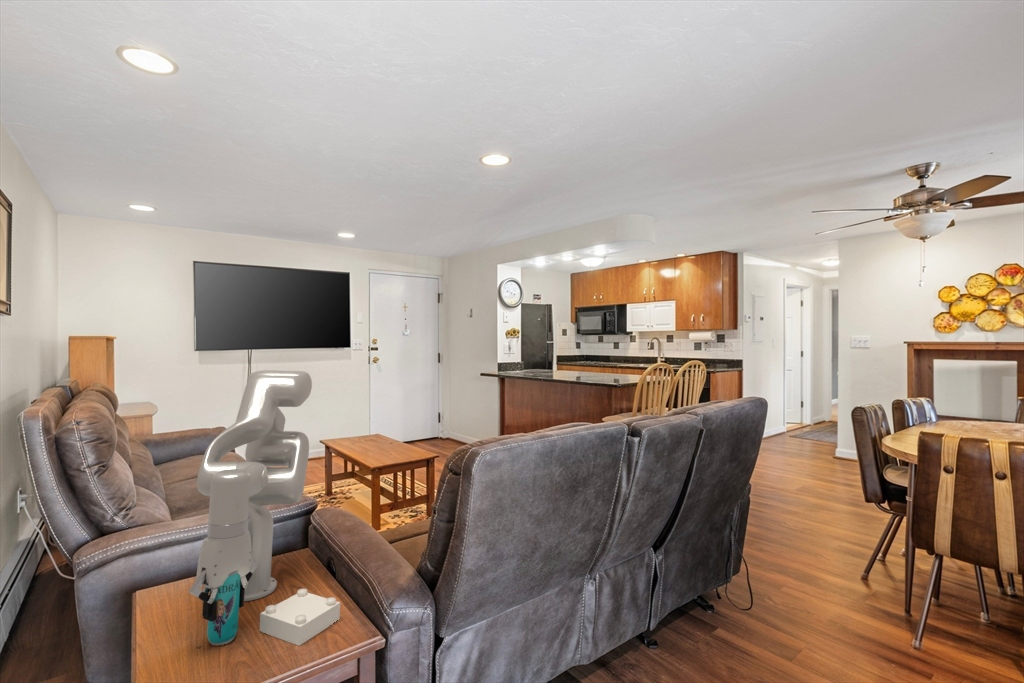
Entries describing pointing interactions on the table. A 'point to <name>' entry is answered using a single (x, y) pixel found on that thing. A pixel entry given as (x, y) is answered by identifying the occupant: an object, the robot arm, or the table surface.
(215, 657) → the table surface
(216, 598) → the beverage can
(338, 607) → the brick
